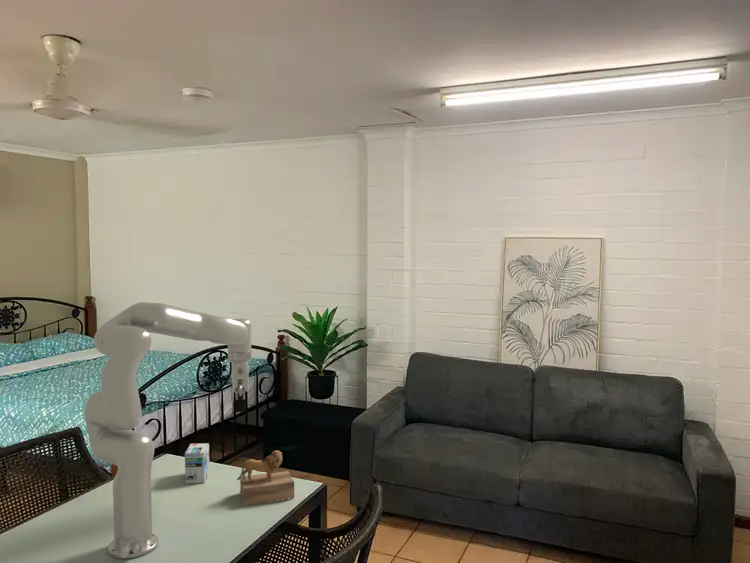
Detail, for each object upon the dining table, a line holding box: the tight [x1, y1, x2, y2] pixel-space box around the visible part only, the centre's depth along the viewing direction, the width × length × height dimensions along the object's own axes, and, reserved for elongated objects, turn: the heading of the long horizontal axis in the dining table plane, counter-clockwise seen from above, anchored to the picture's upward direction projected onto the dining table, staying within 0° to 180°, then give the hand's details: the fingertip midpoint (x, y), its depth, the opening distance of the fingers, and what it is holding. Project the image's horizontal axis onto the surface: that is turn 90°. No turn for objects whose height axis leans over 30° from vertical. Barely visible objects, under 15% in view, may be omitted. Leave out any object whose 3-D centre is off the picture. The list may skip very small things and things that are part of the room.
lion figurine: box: [236, 450, 284, 482], centre depth 191 cm, size 15×5×9 cm, turn 105°
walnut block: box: [239, 470, 295, 506], centre depth 192 cm, size 10×16×6 cm, turn 109°
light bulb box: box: [184, 442, 210, 485], centre depth 207 cm, size 11×7×11 cm, turn 7°
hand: (239, 407), depth 194 cm, fingers open, 9 cm apart
